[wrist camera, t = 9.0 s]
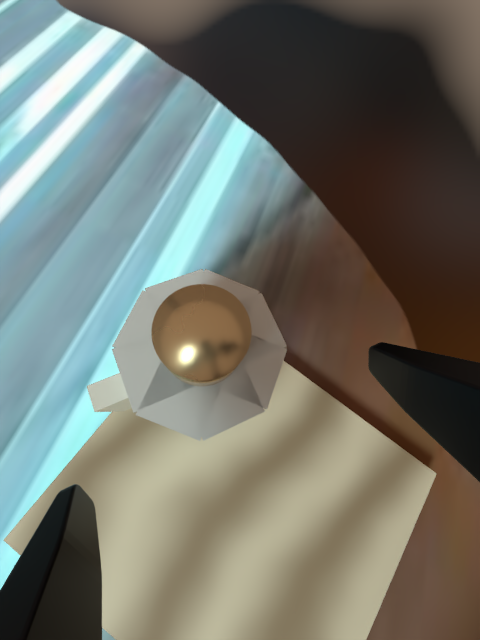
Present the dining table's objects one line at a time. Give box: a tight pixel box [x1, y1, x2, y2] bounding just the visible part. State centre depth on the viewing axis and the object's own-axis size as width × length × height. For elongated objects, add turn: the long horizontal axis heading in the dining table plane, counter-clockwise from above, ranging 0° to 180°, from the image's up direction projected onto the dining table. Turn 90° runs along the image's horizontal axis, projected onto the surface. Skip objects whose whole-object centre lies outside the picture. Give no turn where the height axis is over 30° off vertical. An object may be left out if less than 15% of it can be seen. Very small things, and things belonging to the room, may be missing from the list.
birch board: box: [4, 361, 436, 640], centre depth 19 cm, size 20×18×1 cm
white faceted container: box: [87, 269, 287, 441], centre depth 17 cm, size 9×8×8 cm
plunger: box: [151, 284, 252, 386], centre depth 15 cm, size 5×5×9 cm
